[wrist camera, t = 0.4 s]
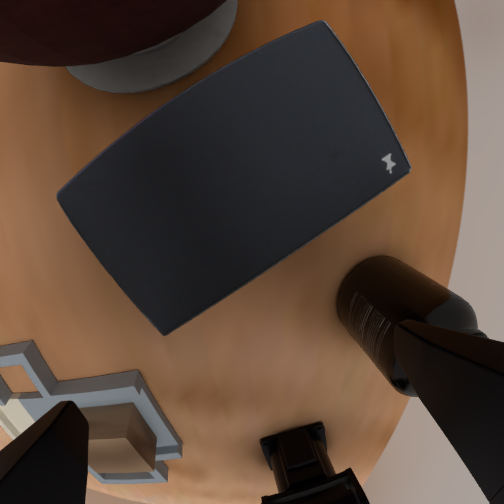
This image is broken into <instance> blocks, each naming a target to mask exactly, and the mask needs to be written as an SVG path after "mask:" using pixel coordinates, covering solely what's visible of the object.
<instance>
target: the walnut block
mask: <svg viewBox="0 0 504 504" xmlns="http://www.w3.org/2000/svg"><path fill="white" fill-rule="evenodd" d="M79 409H80V410H81V412H82V413H83V415H84V416H85V418H86V419H87V421H88V423H89V445H88V465H89V466H90V467H91V468H92V469H93V470H94V471H95V472H96V473H134V472H153V471H154V470H155V457H156V445H157V437H156V435H155V434H154V432H153V431H152V430H151V428H150V427H149V425H148V424H147V422H146V421H145V420H144V418H143V417H142V415H141V414H140V412H139V411H138V409H137V408H136V406H135V404H134V403H133V402H130V403H122V404H114V405H105V406H95V407H84V408H79Z"/></svg>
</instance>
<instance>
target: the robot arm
mask: <svg viewBox="0 0 504 504" xmlns="http://www.w3.org/2000/svg"><path fill="white" fill-rule="evenodd" d="M394 353H395V356H396V358H397V360H398V361H399V363H400V365H401V367H402V368H403V370H404V372H405V374H406V376H407V377H408V379H409V381H410V383H411V385H412V386H413V388H414V390H415V392H416V393H417V395H418V397H419V398H420V400H421V401H422V403H423V404H424V406H425V407H426V408H427V410H428V411H429V413H430V414H431V415H432V417H433V418H434V420H435V421H436V423H437V424H438V425H439V427H440V428H441V430H442V431H443V433H444V434H445V436H446V437H447V438H448V440H449V441H450V443H451V444H452V446H453V447H454V449H455V450H456V452H457V453H458V455H459V456H460V458H461V459H462V461H463V462H464V464H465V465H466V467H467V468H468V470H469V471H470V473H471V474H472V476H473V477H474V479H475V480H476V482H477V484H478V485H479V487H480V488H481V490H482V492H483V493H484V495H485V496H486V498H487V500H488V501H490V502H489V503H490V504H504V342H500V341H496V340H492V339H487V338H483V337H479V336H475V335H470V334H466V333H462V332H458V331H454V330H450V329H446V328H441V327H437V326H433V325H429V324H425V323H421V322H417V321H413V320H405V321H403V322H400V323H398V324H397V325H396V326H395V329H394ZM88 445H89V423H88V421H87V419H86V418H85V416H84V415H83V413H82V412H81V410H80V409H79V408H78V406H77V405H76V403H75V402H73V401H71V400H67V401H60V402H59V403H57V404H56V405H55V406H54V407H53V408H51V409H50V410H49V411H48V412H47V413H45V414H44V415H43V416H42V417H40V418H39V419H38V420H37V421H36V422H34V423H33V424H32V425H31V426H30V427H28V428H27V429H26V430H25V431H24V432H22V433H21V434H20V435H19V436H18V437H16V438H15V439H14V440H13V441H12V442H10V443H9V444H8V445H7V446H6V447H4V448H3V449H2V450H1V451H0V504H85V496H86V486H87V475H88ZM260 445H261V448H262V450H263V452H264V455H265V457H266V460H267V462H268V464H269V467H270V469H271V470H273V472H274V476H275V480H276V484H277V488H278V492H279V493H277V494H274V495H270V496H263V497H261V499H262V503H261V504H370V503H369V501H368V499H367V497H366V495H365V493H364V491H363V489H362V487H361V485H360V484H359V482H358V480H357V478H356V476H355V474H354V473H353V471H352V469H351V468H348V469H346V470H345V471H343V472H341V473H338V474H336V473H335V470H334V468H333V466H332V463H331V461H330V459H329V456H328V454H327V446H326V437H325V428H324V425H323V423H321V422H320V423H316V424H313V425H310V426H307V427H303V428H300V429H297V430H293V431H290V432H286V433H283V434H279V435H276V436H272V437H268V438H264V439H262V440H260Z"/></svg>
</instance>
